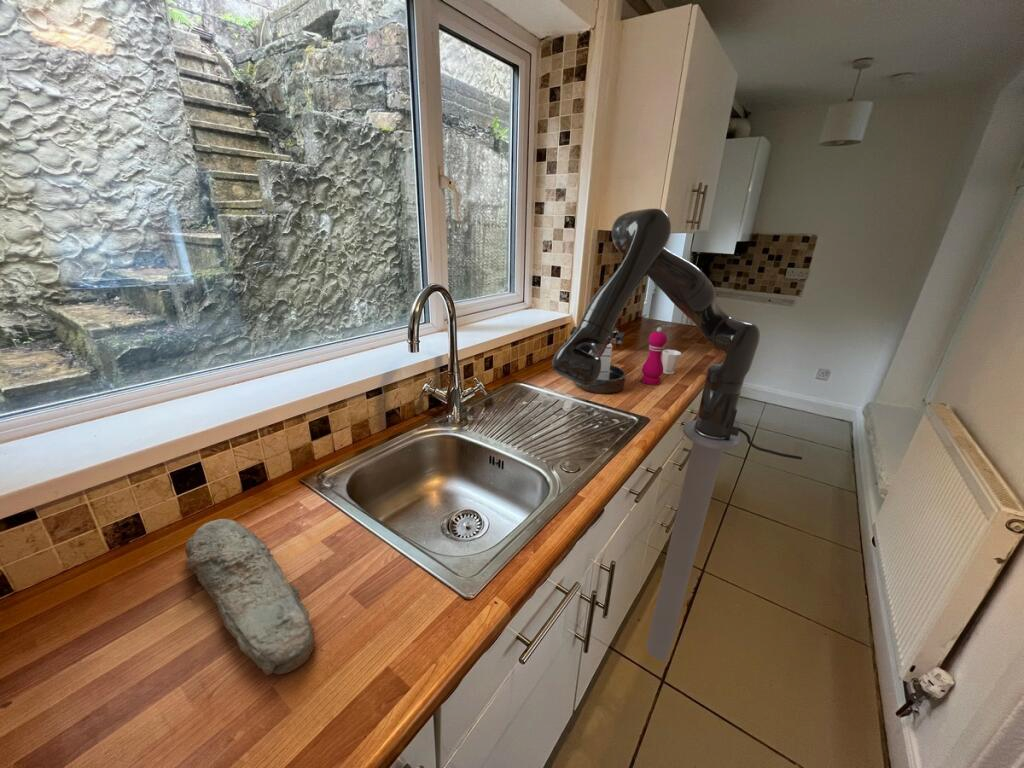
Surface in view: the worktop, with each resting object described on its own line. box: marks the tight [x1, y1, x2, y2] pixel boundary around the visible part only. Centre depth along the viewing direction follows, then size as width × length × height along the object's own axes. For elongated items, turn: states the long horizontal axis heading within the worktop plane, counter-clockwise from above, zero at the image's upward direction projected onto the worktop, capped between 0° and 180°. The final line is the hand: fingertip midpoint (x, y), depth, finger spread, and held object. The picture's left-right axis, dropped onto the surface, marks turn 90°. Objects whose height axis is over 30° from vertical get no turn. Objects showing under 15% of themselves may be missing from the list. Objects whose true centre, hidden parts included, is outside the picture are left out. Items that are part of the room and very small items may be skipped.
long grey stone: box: [184, 518, 315, 676], centre depth 61 cm, size 35×5×10 cm
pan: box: [573, 364, 627, 395], centre depth 141 cm, size 17×17×5 cm
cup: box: [661, 349, 682, 375], centre depth 155 cm, size 7×10×8 cm
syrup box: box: [597, 343, 613, 380], centre depth 139 cm, size 6×6×14 cm
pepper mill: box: [641, 326, 668, 386], centre depth 142 cm, size 7×7×20 cm
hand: (600, 329), depth 118 cm, fingers open, 8 cm apart
